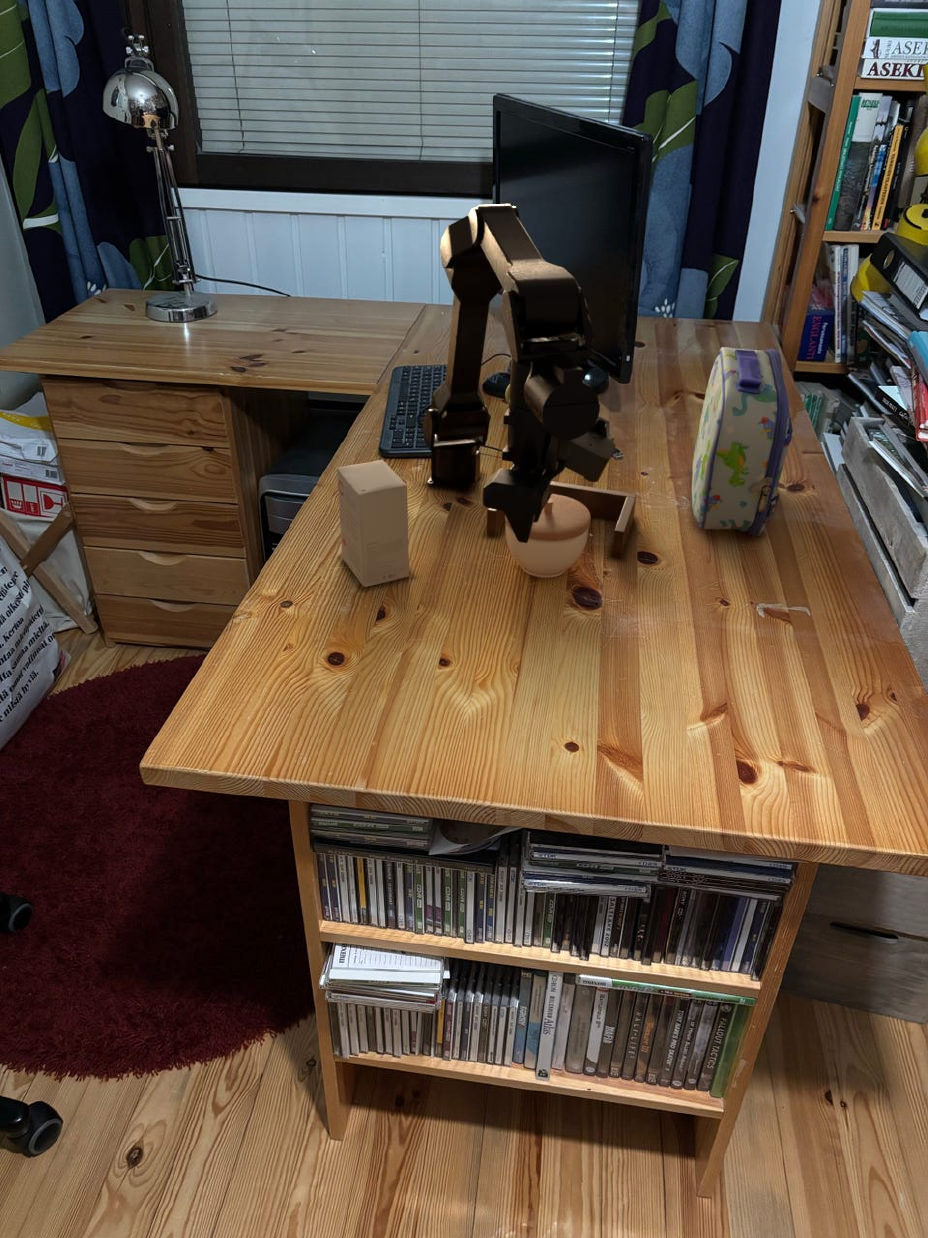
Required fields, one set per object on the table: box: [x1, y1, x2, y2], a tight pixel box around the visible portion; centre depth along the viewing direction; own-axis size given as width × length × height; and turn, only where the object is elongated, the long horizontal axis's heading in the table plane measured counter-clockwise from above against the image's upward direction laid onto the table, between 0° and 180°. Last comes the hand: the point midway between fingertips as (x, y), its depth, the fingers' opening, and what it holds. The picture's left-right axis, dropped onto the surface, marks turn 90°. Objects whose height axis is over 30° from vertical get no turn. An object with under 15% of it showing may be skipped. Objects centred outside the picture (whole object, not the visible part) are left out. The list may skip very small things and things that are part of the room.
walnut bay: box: [486, 480, 637, 559], centre depth 128 cm, size 18×11×4 cm, turn 73°
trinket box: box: [504, 494, 592, 579], centre depth 119 cm, size 11×11×9 cm
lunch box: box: [691, 346, 794, 537], centre depth 130 cm, size 26×11×21 cm, turn 169°
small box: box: [336, 459, 410, 588], centre depth 116 cm, size 8×6×13 cm
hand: (528, 531), depth 106 cm, fingers open, 5 cm apart
